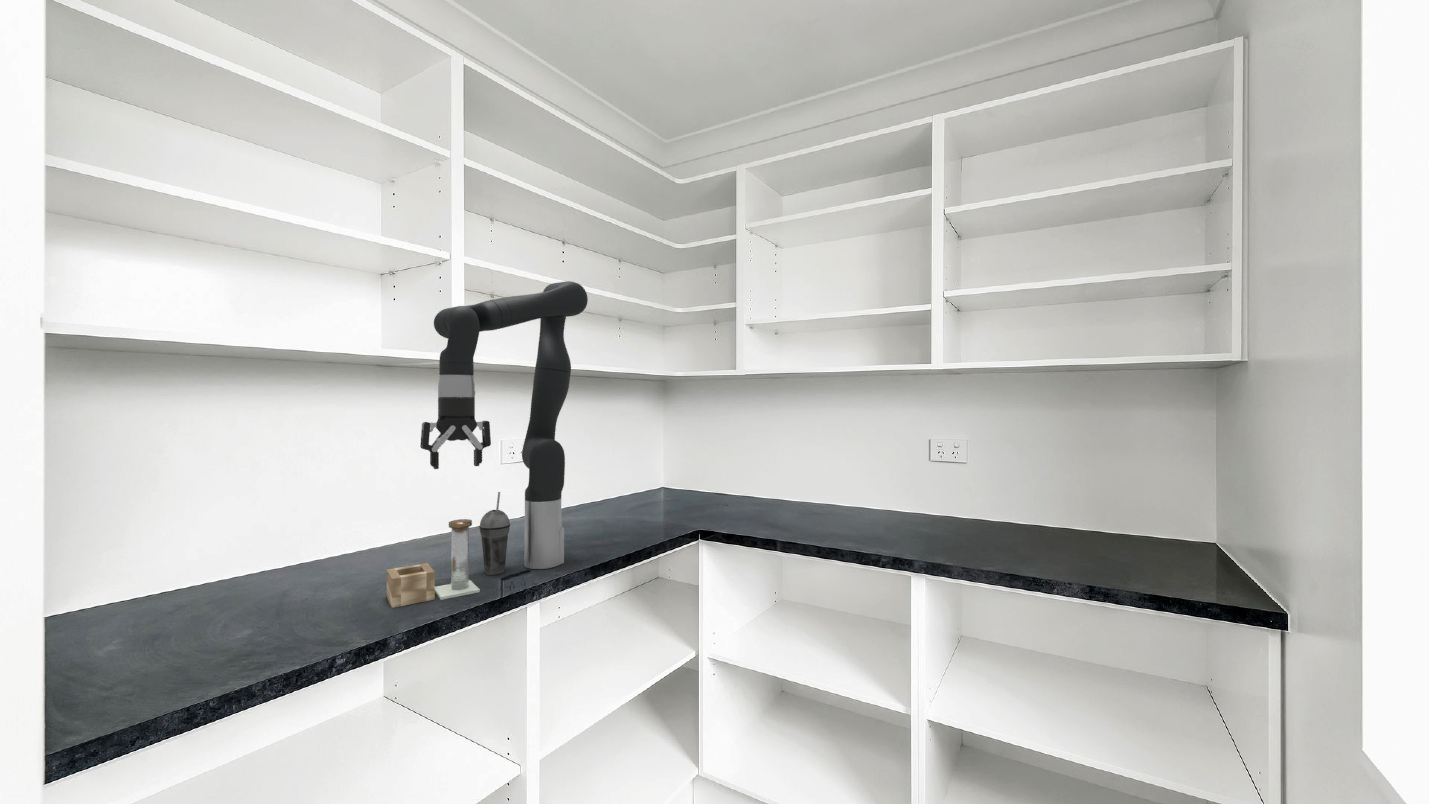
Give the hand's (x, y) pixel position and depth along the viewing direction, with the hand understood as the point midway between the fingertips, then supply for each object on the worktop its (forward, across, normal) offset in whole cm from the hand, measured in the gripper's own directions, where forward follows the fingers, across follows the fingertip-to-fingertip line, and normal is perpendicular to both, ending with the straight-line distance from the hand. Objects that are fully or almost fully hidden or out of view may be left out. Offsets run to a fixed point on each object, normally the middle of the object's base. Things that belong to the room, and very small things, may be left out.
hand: (456, 467), depth 125 cm
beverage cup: (+28, -11, -9) cm, 32 cm away
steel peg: (+27, -1, 0) cm, 27 cm away
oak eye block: (+28, +9, -1) cm, 29 cm away
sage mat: (+28, 0, 0) cm, 28 cm away
